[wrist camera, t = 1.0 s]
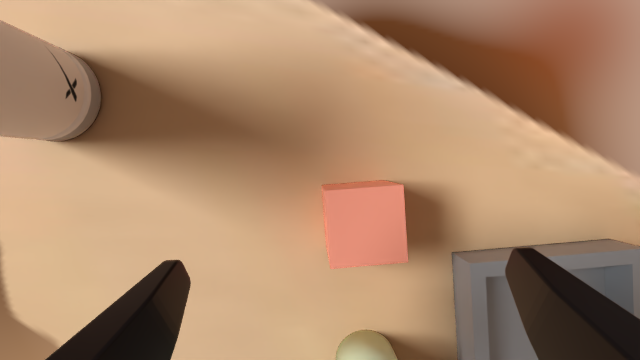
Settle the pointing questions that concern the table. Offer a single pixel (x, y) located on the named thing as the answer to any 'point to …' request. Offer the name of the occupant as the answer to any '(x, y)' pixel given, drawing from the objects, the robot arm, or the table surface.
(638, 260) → the serving tray
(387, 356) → the green cylinder
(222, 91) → the table surface
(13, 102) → the travel mug
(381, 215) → the red cube
